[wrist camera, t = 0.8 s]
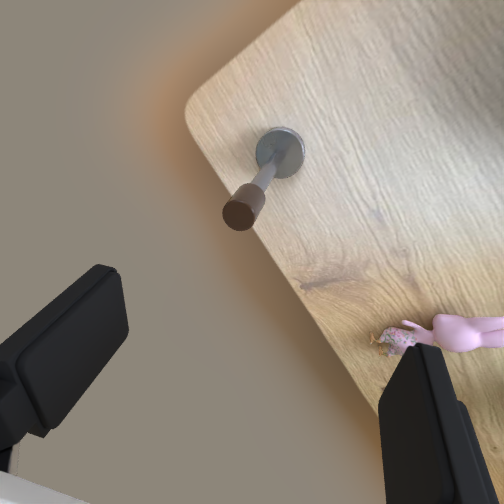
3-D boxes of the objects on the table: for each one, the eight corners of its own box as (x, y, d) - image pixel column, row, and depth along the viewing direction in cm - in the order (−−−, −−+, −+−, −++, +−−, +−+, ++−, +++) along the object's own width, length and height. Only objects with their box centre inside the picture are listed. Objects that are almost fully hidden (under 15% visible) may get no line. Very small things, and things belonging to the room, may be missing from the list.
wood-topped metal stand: (249, 154, 32) (187, 217, 20) (278, 115, 30) (228, 160, 17) (284, 184, 33) (245, 263, 20) (315, 149, 30) (293, 215, 18)
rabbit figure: (386, 347, 42) (531, 331, 33) (383, 387, 38) (549, 380, 29) (365, 313, 40) (513, 286, 31) (359, 351, 36) (529, 332, 27)
